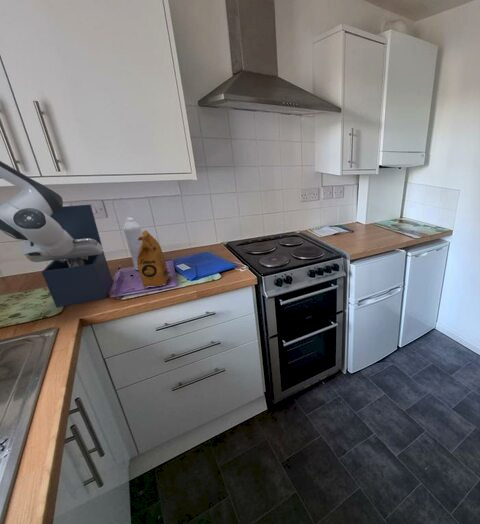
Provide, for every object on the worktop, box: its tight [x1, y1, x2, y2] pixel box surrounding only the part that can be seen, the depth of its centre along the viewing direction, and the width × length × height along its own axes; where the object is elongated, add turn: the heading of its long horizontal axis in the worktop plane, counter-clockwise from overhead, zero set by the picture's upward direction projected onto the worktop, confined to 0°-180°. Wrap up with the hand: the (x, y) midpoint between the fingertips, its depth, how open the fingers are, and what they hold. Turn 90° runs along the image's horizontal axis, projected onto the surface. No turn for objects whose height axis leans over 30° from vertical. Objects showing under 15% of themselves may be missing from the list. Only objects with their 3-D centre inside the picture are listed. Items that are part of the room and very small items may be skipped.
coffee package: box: [137, 229, 170, 288], centre depth 125 cm, size 10×12×22 cm
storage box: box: [41, 249, 114, 308], centre depth 117 cm, size 18×15×14 cm
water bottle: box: [123, 216, 143, 270], centre depth 138 cm, size 9×6×25 cm
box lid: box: [50, 204, 104, 250], centre depth 121 cm, size 18×15×4 cm
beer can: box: [66, 257, 85, 267], centre depth 115 cm, size 5×5×12 cm
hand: (75, 259), depth 115 cm, fingers closed on beer can, 5 cm apart
